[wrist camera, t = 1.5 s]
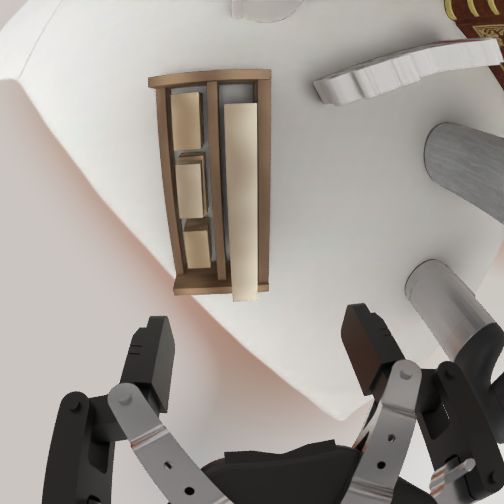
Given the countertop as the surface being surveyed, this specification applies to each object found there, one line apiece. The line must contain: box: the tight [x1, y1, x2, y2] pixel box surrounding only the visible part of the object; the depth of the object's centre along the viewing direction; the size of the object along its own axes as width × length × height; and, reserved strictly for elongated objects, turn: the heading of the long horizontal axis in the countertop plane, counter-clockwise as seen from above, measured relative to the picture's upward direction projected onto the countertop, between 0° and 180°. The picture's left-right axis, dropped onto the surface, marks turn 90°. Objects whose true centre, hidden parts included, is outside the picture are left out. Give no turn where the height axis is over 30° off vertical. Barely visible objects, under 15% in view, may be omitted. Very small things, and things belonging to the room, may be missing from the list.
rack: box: [148, 69, 271, 295], centre depth 31 cm, size 12×25×6 cm, turn 1°
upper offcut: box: [175, 160, 204, 219], centre depth 30 cm, size 3×6×2 cm, turn 179°
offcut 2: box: [183, 218, 212, 268], centre depth 35 cm, size 3×5×4 cm, turn 1°
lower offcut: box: [178, 152, 208, 215], centre depth 32 cm, size 3×7×3 cm, turn 0°
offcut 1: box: [171, 92, 204, 151], centre depth 28 cm, size 3×6×4 cm, turn 1°
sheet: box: [224, 103, 258, 302], centre depth 28 cm, size 2×18×12 cm, turn 1°
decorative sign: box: [313, 38, 504, 106], centre depth 21 cm, size 23×3×15 cm, turn 119°
